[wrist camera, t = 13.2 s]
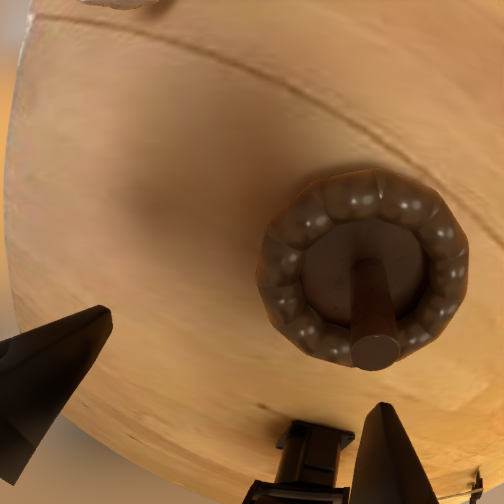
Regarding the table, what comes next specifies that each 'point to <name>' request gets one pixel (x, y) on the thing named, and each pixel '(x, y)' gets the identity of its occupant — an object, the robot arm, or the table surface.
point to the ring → (348, 211)
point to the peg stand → (366, 285)
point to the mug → (119, 3)
